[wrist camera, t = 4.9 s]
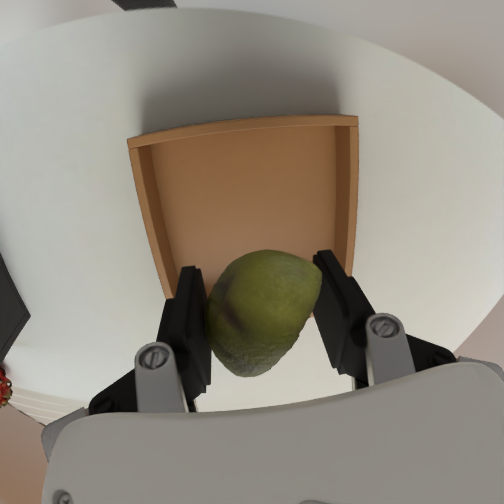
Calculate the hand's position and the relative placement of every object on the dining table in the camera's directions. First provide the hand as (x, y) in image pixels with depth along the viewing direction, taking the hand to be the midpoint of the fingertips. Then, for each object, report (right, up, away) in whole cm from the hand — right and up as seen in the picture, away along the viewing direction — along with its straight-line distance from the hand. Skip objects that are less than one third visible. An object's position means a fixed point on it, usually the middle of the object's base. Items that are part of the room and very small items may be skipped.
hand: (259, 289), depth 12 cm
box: (0, +4, +8) cm, 9 cm away
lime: (0, +1, +1) cm, 1 cm away
